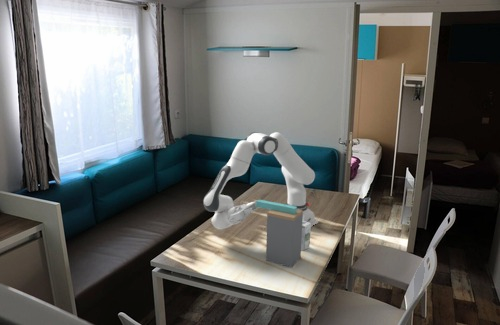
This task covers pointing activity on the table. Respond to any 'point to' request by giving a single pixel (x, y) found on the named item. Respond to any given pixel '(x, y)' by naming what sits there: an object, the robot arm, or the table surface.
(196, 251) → the table surface
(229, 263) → the table surface
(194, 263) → the table surface
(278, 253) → the pedestal
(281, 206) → the teal batten
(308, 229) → the syrup box
